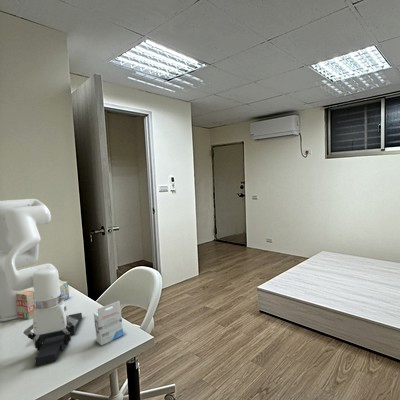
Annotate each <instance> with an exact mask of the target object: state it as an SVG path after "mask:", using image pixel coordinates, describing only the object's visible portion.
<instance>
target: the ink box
mask: <svg viewBox="0 0 400 400" xmlns="http://www.w3.org/2000/svg"><path fill="white" fill-rule="evenodd" d="M93 320H94V329H95V336H96V343H98V344H99V345H100V346H103V345H105V344H108V343H109V342H111V341H114V340H115V339H118V338H120V337H122V336H124V329H123V328H124V327H123V317H122V309H121V303H120V300H117V301H115V302H112V303H109V304H107V305H104V306H102V307H99V308H97V311H96V312H93Z"/></svg>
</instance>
